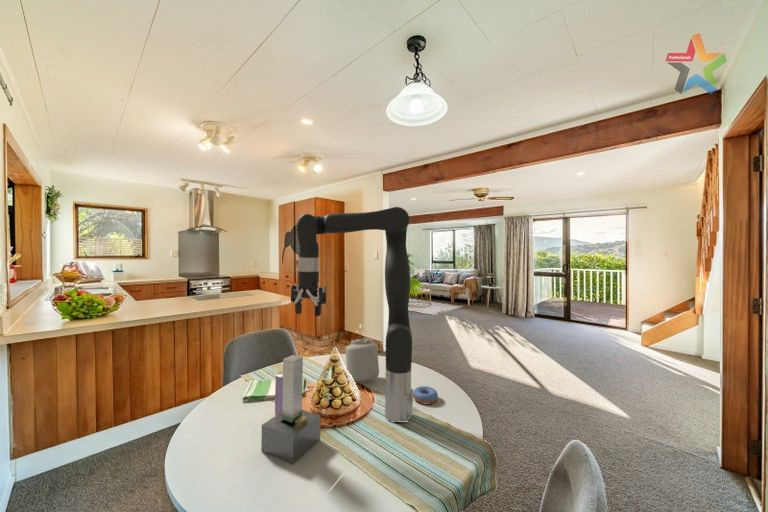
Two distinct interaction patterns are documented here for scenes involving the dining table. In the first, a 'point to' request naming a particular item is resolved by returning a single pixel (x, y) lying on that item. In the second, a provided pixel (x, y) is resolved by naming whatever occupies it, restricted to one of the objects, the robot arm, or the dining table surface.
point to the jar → (362, 360)
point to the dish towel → (262, 390)
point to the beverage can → (278, 392)
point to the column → (292, 388)
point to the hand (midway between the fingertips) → (307, 314)
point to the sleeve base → (290, 436)
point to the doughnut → (425, 394)
